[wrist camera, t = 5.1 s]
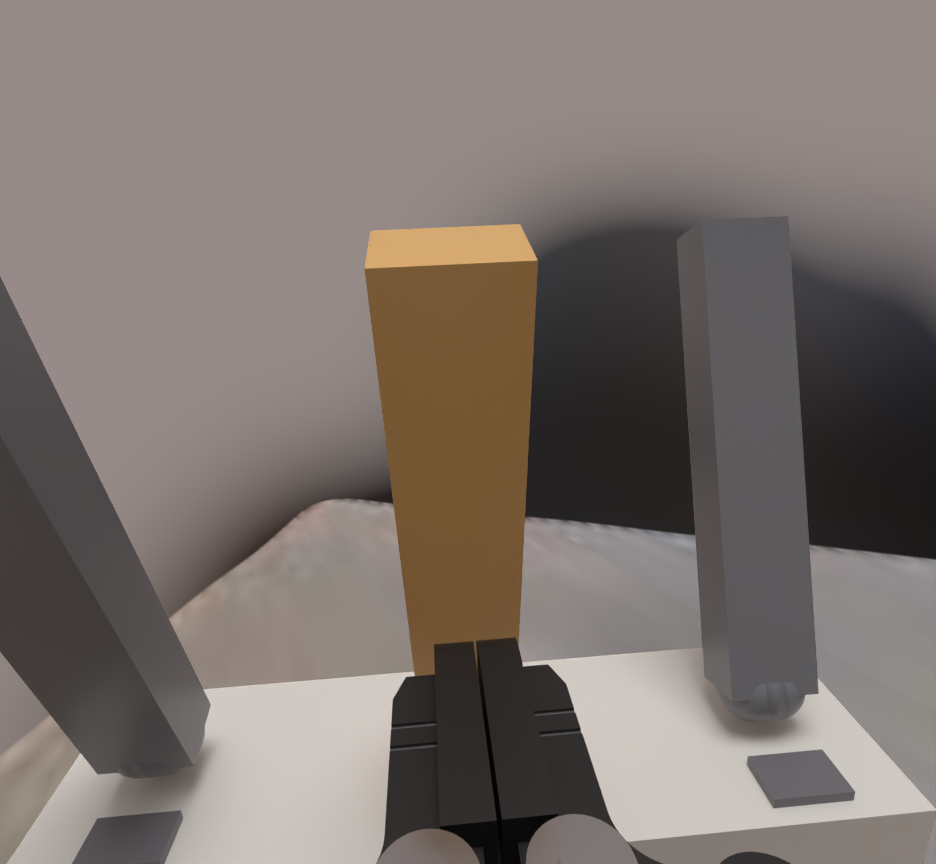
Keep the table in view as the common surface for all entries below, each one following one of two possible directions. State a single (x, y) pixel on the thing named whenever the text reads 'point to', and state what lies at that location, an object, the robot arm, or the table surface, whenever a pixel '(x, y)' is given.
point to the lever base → (608, 742)
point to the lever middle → (456, 421)
